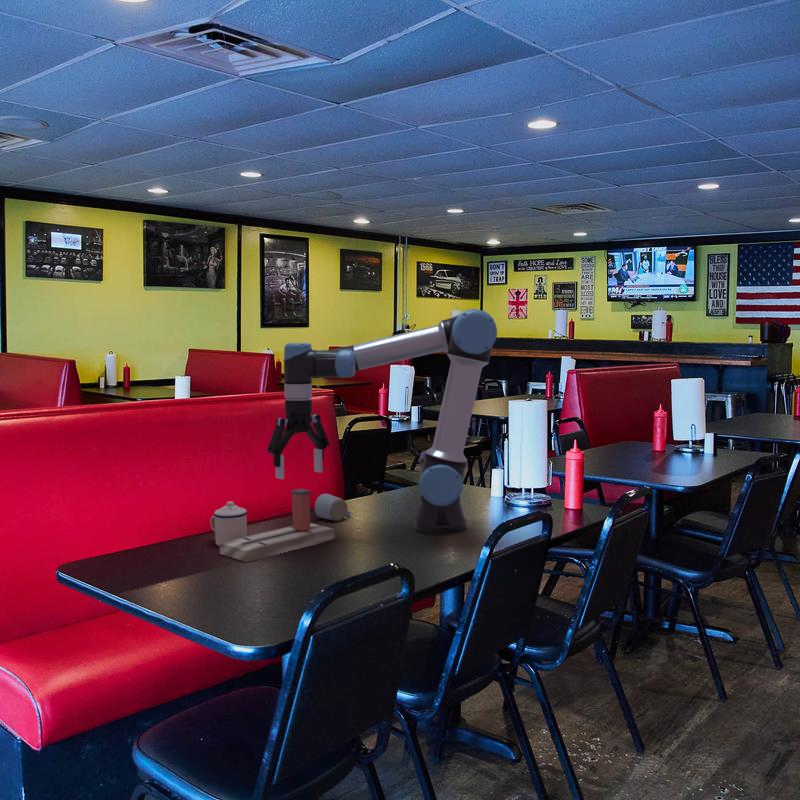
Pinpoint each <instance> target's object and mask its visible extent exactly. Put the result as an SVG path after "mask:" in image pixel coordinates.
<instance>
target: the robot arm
mask: <svg viewBox="0 0 800 800" xmlns="http://www.w3.org/2000/svg"><path fill="white" fill-rule="evenodd" d="M439 321H440V322H438V324H436V325H432V326H427V327H423V328H420V329H415V330H411V331H407V332H403V333H399V334H395V335H390V336H385V337H383V338H377V339H374V340H369V341H364V342H360V343H355V344H352V345H349V346H344V347H338V348H334V349H331V350H330V349H326V350H325V349H323V350H322V349H321V350H318V349H316V350H315V349H313V348H312V344H311V343H309V342H289V343H286V344H285V345H284V352H283V353H284V355H283V374H284V376H283V377H284V379H283V380H284V383H283V385H284V398H285V400H284V412H285V418H281V417H277V418H276V419H275V426H274V430H273V432H272V435H271V439H270V441H269V443H268V446H267V449H266V452H267V453H268V454H270V455H271V454H272V456H273V457H272V459H273V467H275V478H276V479H279V480H284V479H285V460H284V459H285V458H284V457H285V456H284V455H285V454H282V453H283V452H284V450H285V448H286V446H287V445H288V444H289V441H290V440H291V438H292V437H293V436H295V434H300V433H305V434H306V436H307V437H308V439H310V441H311V442H312V443H313V445H314V446H315V448H313V470H314V471H313V472H314V473H315V472H316V473H323V460H324V458H325V454H324V453H325V451H324V450H326V449H327V447H329V446H330V441H329V439H328V436H327V434H326V431H325V429H324V427H323V424H322V419H321V415H320V414H316V413H315V414H314V413H313V400H312V399H311V398H313V384H312V383H313V382H312V380H313V379H312V378H340V379H344V378H345V379H346V378H352V377H354V376H355V374H356V372H358V371H362V370H366V369H370V368H374V367H379V366H384V365H388V364H391V363H396V362H401V361H405V360H410V359H414V358H418V357H422V356H427V355H431V354H435V353H440V352H445V353H446V355H447V357H448V358H449V360H450V363H449V364H450V365H449V370H448V374H447V378H446V383H445V388H444V392H443V397H442V402H441V406H440V411H439V415H438V419H437V424H436V429H435V434H434V438H433V439H434V440H433V444H432V446H431V447H430V448H428V449H427V450H426V451H422V452H420V456H419V461H418V462H419V472H420V473H419V479H418V489H419V492H420V503H419V507H418V510H417V512H416V518H415V519H414V529H415V531H416V532H417V531H418V532H420V533H425V534H430V535H451V534H458V533H461V532H464V531H465V530H466V529H467V520H466V517H465V515H464V514H465V513H464V512H463V508H462V504H461V494H462V492H463V488H464V482H463V481H464V475H465V472H466V466H467V462H468V459H467V457H466V456H465V454H464V450H465V446H466V442H467V437H468V432H469V427H470V425H471V424H470V423H471V418H472V414H473V409H474V406H475V402H476V401H475V400H476V397H477V392H478V387H479V383H480V382H479V381H480V379H481V374H482V370H483V368H484V367H486V366H487V365H489V364H490V359H491V355H492V351H493V345H494V344H495V342H496V340H497V336H498V327H497V324H496V321H495V319H494V318H493V317H492V316H491V314H490V313H488V312H486V311H484V310H481V309H480V308H478V309H475V308H470V309H466V310H464V311H463V312H461V313H460V314H457V315H455V316H453V317H450V318H447V319H442V320H439ZM311 413H313V414H311ZM311 423H312V424H311Z"/></svg>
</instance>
